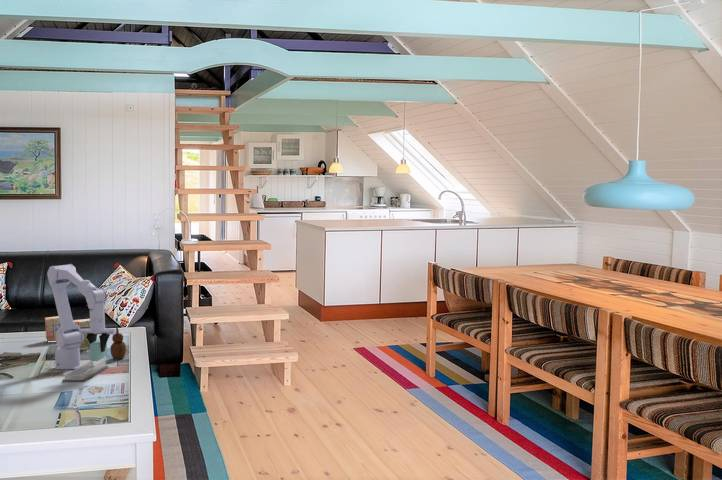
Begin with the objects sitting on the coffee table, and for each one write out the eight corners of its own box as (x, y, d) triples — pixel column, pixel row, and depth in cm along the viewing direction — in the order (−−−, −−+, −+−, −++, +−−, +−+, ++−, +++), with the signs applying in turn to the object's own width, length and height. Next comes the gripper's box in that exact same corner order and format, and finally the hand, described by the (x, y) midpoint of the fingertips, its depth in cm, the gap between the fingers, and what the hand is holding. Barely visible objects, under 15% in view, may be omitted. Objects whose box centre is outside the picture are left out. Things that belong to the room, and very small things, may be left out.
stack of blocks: (90, 336, 376) (89, 312, 375) (92, 338, 371) (91, 314, 370) (45, 341, 366) (44, 317, 365) (47, 343, 361) (46, 319, 360)
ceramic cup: (69, 350, 345) (67, 329, 344) (84, 345, 354) (83, 325, 353) (90, 351, 340) (89, 330, 339) (105, 347, 349) (104, 326, 348)
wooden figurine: (120, 360, 322) (119, 327, 321) (108, 360, 323) (107, 326, 322) (128, 356, 328) (127, 324, 327) (116, 356, 330) (115, 323, 328)
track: (62, 381, 289) (62, 375, 288) (88, 367, 310) (87, 361, 310) (84, 381, 288) (83, 375, 287) (108, 367, 310) (108, 361, 309)
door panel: (90, 361, 295) (89, 344, 294) (100, 355, 303) (99, 339, 303) (97, 361, 294) (96, 344, 294) (107, 355, 303) (106, 339, 303)
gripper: (75, 320, 294) (77, 353, 296) (110, 320, 293) (111, 353, 294) (83, 317, 301) (85, 349, 303) (117, 317, 300) (118, 349, 301)
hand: (98, 351), depth 299 cm, fingers closed on door panel, 3 cm apart
